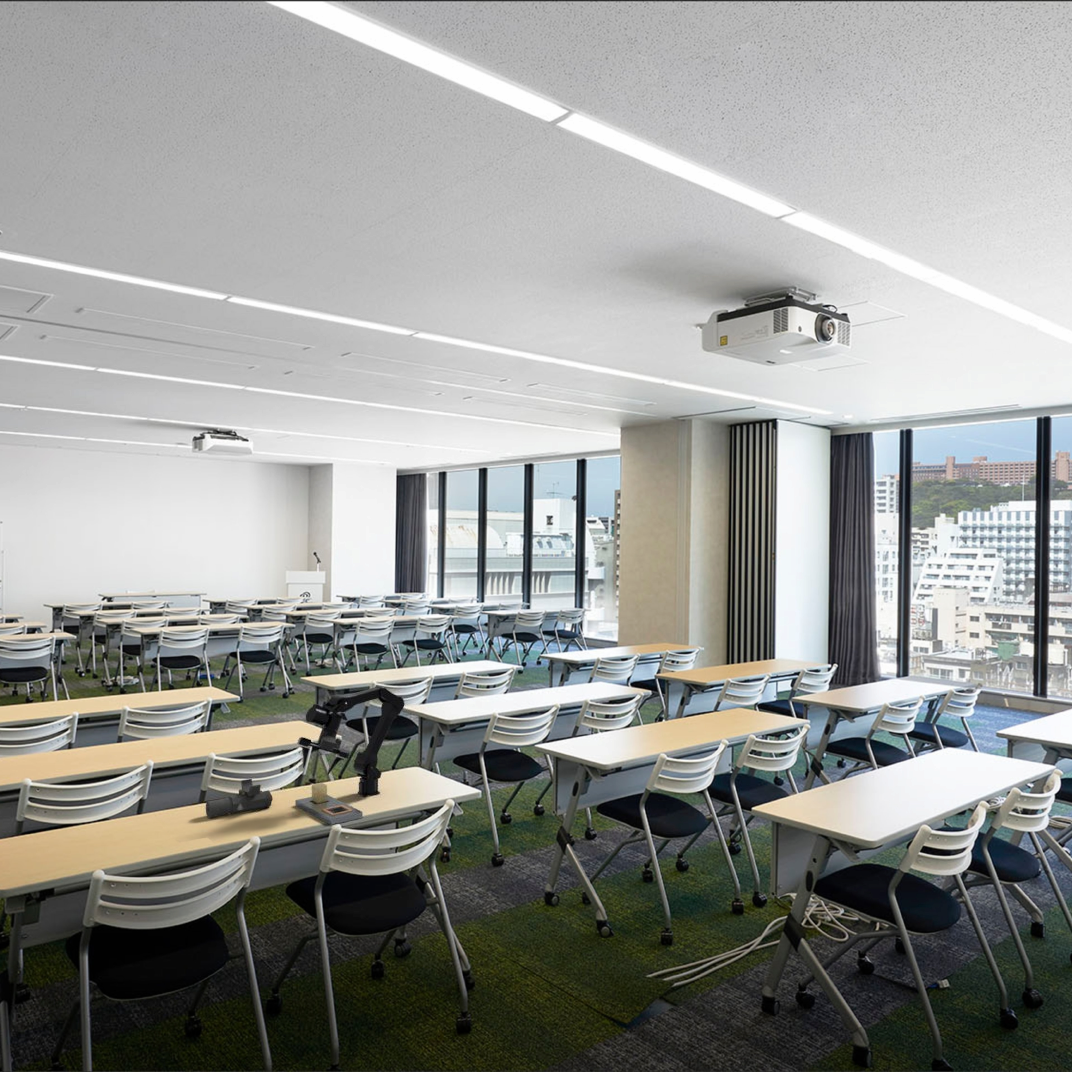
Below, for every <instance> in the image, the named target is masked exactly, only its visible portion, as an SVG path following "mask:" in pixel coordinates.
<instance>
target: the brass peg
mask: <svg viewBox="0 0 1072 1072" xmlns="http://www.w3.org/2000/svg"><path fill="white" fill-rule="evenodd" d="M327 795H328V784H325V783H323V782H319V783H313V784H312V785H311V797H312V803H314V804H315V805H316V804H321V803H326V802H327Z"/></svg>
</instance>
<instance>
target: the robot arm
mask: <svg viewBox="0 0 1072 1072" xmlns="http://www.w3.org/2000/svg"><path fill="white" fill-rule="evenodd" d="M377 699H378V701H379V703H382V704H381V706H380V707H381V709H380V711H381V712H380V713H381V715H380V716H379V720H378V722H377V724H376V726H375V728H374V730H373V733H372V735H371V737H370V740H369V741H368V743H367V745H366V748H365V750H363V751H362V752H361V751H358V752H357V753H356V757H355V759H353V762H354V763H353V769H354V771H355V773H356V775H357V777H359V782H358V791H357V794H359V795H361V796H363V797H369V796H370V797H371V796H375V795H379V794H381V792H380V791H379V779H381V776H382V773H383V772H382V771H381V770H379V768H377V766H378V762H379V761H378V760H379V759H378V755H379V754H378V753H379V752H380V749H381V748H382V745H383V743H384V741H385V738H386V736H387V734H388V732H389V730H390V727H391V725H392V723H393V721H394V719H396V718H397V717H398V716H400V714H401V713H402V710H404V707H405V701H404V700H405V699H404V698H403V697H402V696H398V695H397V694H395V693H393V692H391V691H390V690H389V689H387V688H386V687H384V686H380V685H376V686H374V687H372V688H368V689H364V690H361V691H358V692H357V691H356V692H355V693H351V694H342V693H341V694H334V695H332V696H331V697H330V699H329V700H328V701H327V702H325V703H324V704H323V705H322V706H321V705H319V704H316V703H313V705H312V707H310V708H309V709H308V711H307V712H306V714H305V721H306V722H308V723H310V724H313V725H316V726H320V727H321V726H322V729H321V731H320V734H319V736H318V740H317V742H314V741H312V739H310V738H306V737H303V736H300V737H299V738H298V739H297V745H300V746H299V748H301V751H302V769H304V768H305V766H306V763H307V761H308V760H307V758H308V755H309V752H310V747H312V748H314V749H319V750H322V751H325V752H328V753H332V754H334V756H333V759H332V760H331V762H330V765H329V768H328V770H327V776H328V775H329V774H330V773H331V772H332V771H333V769H334V768H335V767H336V765H337V764H338V763H339V762H340V761H341V760H342V761H344V760H345V759H347V760H348V759H349V756H350V750H348V749H347V750H346V749H344V748H340V747H341V744H342V742H343V740H342V739H340V738H338V737H337V735H338V731H339V729H340V726H341V723H342V721H346V722H347V721H348V717H347V716H346V712H348V711H349V710H352V709H353V708H354V707H355V706H357V705H360V704H364V703H367V702H370V701H374V700H377Z"/></svg>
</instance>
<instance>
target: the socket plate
mask: <svg viewBox="0 0 1072 1072" xmlns="http://www.w3.org/2000/svg"><path fill="white" fill-rule="evenodd" d="M294 805H295V807H297V808H299V809H300V810H303V811H304V812H307V813H308V814H310V815H312V816H314V817H316V818H318V819H319V820H321V821H323V822H324V823H326V824H328V825H330V826H332V825H333V826H334V825H336V824H335V823H338V824H341V823H346V822H350V821H354V820H359V819H363V818H364V817H363V814H364V812H363V811H361V810H359V809H357V808H356V807H353V806H351V805H349V804H347V803H345V802H343V801H341V800H339V799H337V798H335V797H333V796H331V795H329V794H327V802H326V803H321V804H316V805H315V804H314V803H312V796H309V797H304V798H298V799H295V804H294Z"/></svg>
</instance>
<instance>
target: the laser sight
mask: <svg viewBox="0 0 1072 1072" xmlns="http://www.w3.org/2000/svg"><path fill="white" fill-rule="evenodd" d="M252 780H253V779H252V778H247V779H243V780H241V781H240V783H241V788H240V789H238V794H233V795H229V796H228V797H224V798H221V799H219V798H218V799H215V800H209V801H208V800H207V801H206V803H205V813H206V817H207V818H208V819H211V818H215V817H220V816H226V815H231V816H233V815H238V814H239V815H240V814H244V813H249V812H254V811H259V810H260V811H261V810H263V809H265V808H270V807H271V806H272V802H273V795H272V793H271V791H270V790H268V789H267V790H264V791H263V790H261V785H262V784H256V785H253V781H252Z"/></svg>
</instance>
